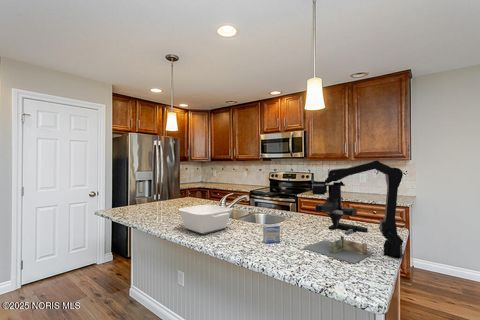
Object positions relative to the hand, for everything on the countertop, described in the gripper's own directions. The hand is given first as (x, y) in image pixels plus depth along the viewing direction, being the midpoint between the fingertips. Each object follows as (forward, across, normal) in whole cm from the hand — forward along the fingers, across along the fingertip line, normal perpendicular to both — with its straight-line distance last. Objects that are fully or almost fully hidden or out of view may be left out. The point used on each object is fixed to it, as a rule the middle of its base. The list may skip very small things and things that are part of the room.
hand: (335, 227), depth 124 cm
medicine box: (+10, -28, -15) cm, 33 cm away
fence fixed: (+10, +7, +2) cm, 13 cm away
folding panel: (+10, +2, -4) cm, 10 cm away
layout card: (+10, +2, -2) cm, 11 cm away
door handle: (+11, -12, +36) cm, 39 cm away
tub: (+9, -71, -27) cm, 77 cm away
